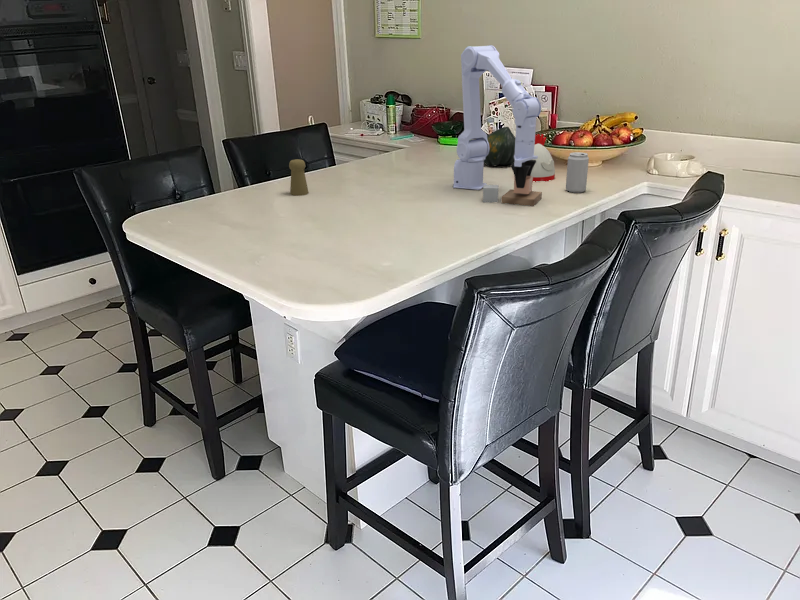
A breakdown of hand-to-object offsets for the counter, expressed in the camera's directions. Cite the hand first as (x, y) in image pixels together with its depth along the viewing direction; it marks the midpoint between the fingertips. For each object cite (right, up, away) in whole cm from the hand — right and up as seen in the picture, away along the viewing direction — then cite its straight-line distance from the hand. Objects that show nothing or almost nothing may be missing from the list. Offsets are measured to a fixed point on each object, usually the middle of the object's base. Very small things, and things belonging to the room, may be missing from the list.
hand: (522, 185), depth 199 cm
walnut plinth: (0, -4, +2) cm, 5 cm away
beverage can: (+19, 0, +12) cm, 23 cm away
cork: (-70, 0, +15) cm, 72 cm away
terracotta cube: (0, -2, +1) cm, 2 cm away
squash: (+1, +17, +52) cm, 55 cm away
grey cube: (-9, -4, +3) cm, 11 cm away
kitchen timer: (+10, +8, +31) cm, 34 cm away
